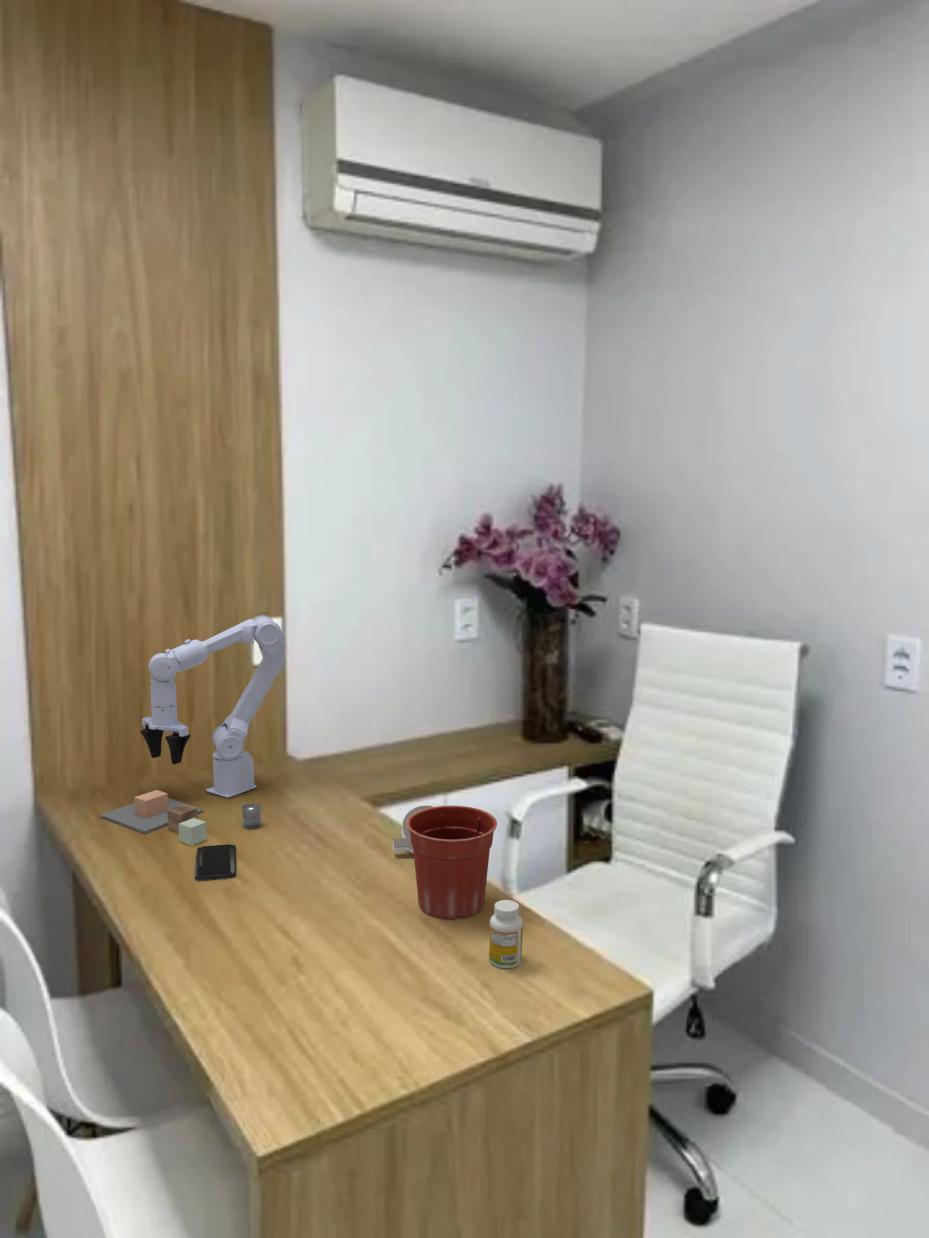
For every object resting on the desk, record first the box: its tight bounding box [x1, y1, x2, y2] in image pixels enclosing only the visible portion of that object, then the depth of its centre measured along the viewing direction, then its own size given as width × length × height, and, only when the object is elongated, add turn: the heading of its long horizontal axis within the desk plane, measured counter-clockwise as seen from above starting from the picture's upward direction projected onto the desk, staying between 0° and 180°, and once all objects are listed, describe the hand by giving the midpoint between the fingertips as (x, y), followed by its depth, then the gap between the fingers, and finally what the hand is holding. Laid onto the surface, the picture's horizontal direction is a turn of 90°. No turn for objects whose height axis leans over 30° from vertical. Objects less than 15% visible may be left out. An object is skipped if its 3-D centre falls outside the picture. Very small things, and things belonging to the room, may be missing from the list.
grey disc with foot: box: [392, 805, 435, 855], centre depth 197 cm, size 15×8×11 cm, turn 102°
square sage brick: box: [178, 818, 208, 846], centre depth 199 cm, size 4×4×4 cm
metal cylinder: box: [241, 802, 262, 830], centre depth 208 cm, size 4×4×4 cm
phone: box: [194, 843, 237, 882], centre depth 188 cm, size 8×1×15 cm
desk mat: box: [99, 797, 204, 834], centre depth 213 cm, size 16×16×1 cm
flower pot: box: [406, 804, 498, 920], centre depth 171 cm, size 16×16×16 cm
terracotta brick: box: [133, 789, 169, 818], centre depth 213 cm, size 6×4×4 cm, turn 145°
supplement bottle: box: [488, 899, 524, 969], centre depth 153 cm, size 5×5×10 cm
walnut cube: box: [167, 803, 199, 834], centre depth 206 cm, size 4×4×4 cm
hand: (166, 760), depth 223 cm, fingers open, 7 cm apart
